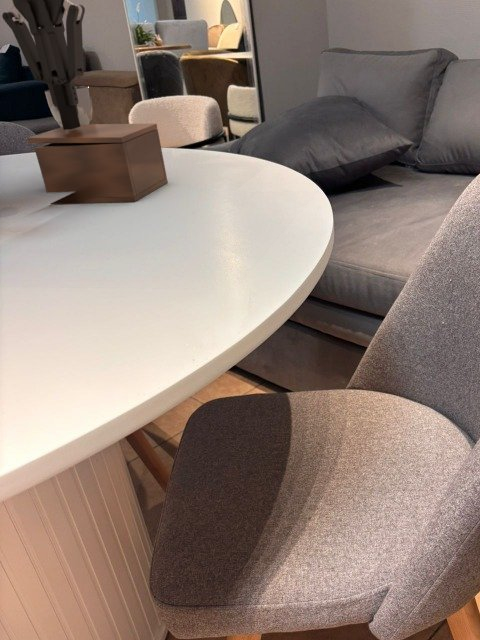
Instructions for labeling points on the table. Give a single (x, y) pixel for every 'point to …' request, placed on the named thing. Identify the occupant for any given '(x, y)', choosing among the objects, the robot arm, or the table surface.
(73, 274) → the table surface
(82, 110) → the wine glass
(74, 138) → the lid
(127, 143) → the chest
